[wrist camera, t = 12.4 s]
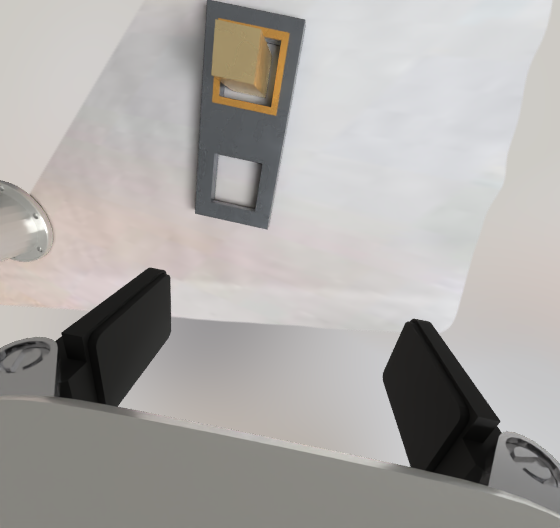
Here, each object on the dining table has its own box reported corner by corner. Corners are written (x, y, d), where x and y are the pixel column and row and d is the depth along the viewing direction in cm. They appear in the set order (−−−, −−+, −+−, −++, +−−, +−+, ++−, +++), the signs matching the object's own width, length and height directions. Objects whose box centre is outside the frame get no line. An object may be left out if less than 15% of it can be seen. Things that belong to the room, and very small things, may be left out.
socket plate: (268, 226, 36) (267, 229, 35) (199, 211, 36) (194, 213, 35) (305, 26, 27) (305, 18, 26) (212, 6, 27) (206, -2, 26)
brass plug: (265, 98, 30) (253, 84, 24) (232, 90, 30) (211, 75, 24) (271, 55, 28) (261, 29, 22) (236, 48, 29) (215, 19, 22)
